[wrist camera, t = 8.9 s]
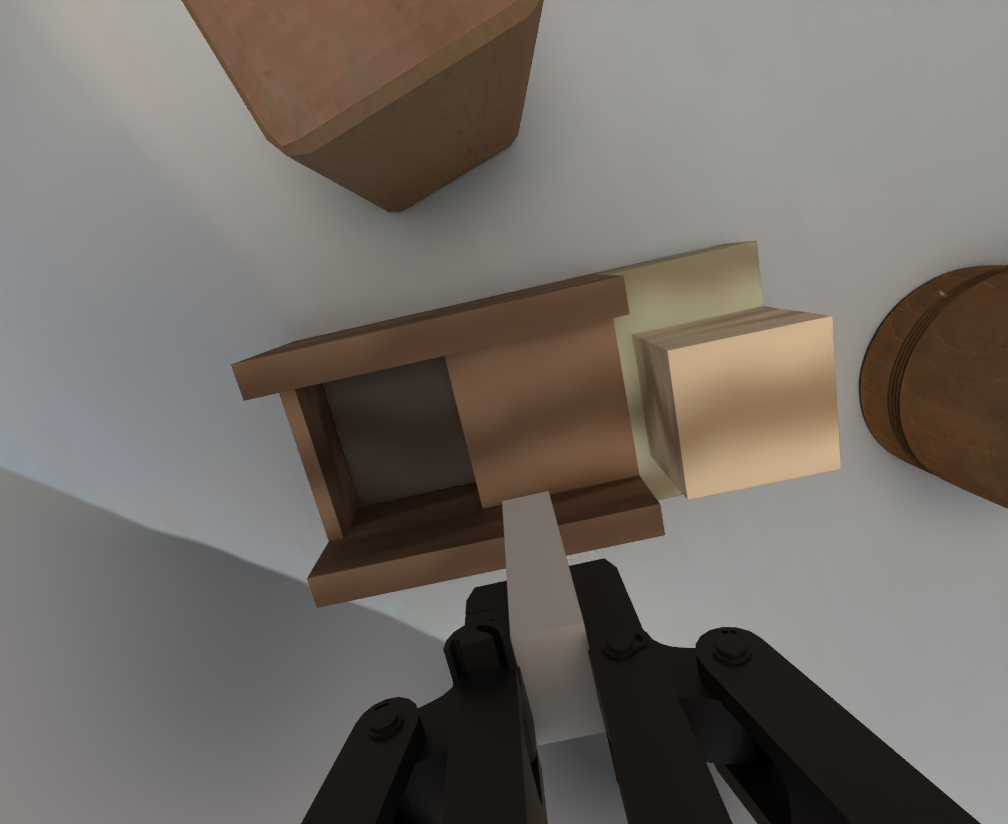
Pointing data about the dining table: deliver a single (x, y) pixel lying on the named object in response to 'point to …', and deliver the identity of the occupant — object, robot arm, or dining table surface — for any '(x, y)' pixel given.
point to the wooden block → (379, 83)
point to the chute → (488, 419)
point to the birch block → (740, 399)
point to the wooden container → (945, 380)
